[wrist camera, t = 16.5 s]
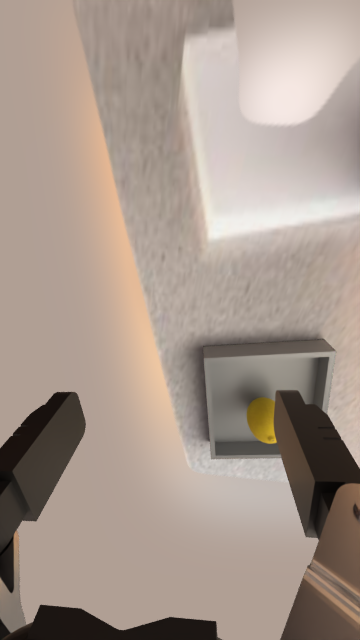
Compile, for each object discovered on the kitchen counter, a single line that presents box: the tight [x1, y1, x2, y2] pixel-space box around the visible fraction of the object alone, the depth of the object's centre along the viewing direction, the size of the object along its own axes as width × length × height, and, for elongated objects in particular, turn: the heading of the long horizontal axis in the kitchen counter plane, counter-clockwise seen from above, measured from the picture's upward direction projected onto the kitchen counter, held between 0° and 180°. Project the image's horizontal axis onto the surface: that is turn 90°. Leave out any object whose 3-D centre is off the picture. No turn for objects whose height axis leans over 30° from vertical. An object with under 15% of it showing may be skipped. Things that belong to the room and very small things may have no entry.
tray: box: [203, 339, 336, 459], centre depth 41 cm, size 18×20×4 cm
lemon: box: [246, 397, 277, 444], centre depth 39 cm, size 6×6×8 cm
